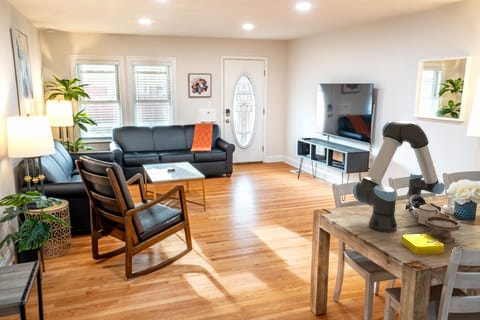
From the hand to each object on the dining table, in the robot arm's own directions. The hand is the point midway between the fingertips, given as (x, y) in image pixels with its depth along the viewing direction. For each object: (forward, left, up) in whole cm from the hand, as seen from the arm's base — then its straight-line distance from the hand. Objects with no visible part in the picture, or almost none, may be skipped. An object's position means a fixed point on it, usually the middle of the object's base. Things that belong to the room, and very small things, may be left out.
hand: (426, 212), depth 212 cm
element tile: (-11, -28, -10) cm, 31 cm away
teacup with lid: (0, +4, -7) cm, 8 cm away
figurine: (+24, +30, -9) cm, 39 cm away
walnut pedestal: (+3, -14, -9) cm, 17 cm away
